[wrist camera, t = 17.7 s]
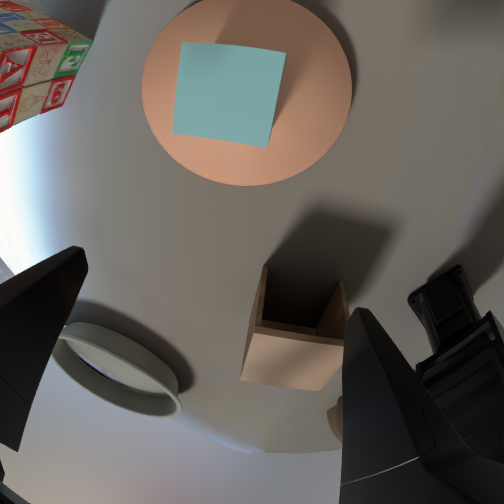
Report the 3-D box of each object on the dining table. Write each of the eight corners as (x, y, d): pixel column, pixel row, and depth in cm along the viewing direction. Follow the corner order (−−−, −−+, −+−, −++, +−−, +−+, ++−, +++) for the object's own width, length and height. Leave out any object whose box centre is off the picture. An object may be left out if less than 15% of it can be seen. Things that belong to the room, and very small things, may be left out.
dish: (387, 100, 15) (393, 102, 14) (246, 212, 21) (243, 220, 20) (243, -36, 10) (240, -42, 9) (117, 100, 16) (108, 102, 15)
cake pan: (41, 289, 32) (25, 311, 28) (197, 352, 34) (189, 382, 30) (73, 366, 46) (65, 383, 43) (182, 409, 48) (177, 428, 45)
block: (286, 59, 13) (286, 52, 9) (272, 127, 16) (267, 148, 12) (211, 49, 13) (182, 42, 9) (202, 116, 16) (172, 133, 12)
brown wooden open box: (343, 281, 24) (354, 347, 18) (317, 331, 28) (319, 390, 23) (263, 265, 24) (253, 332, 18) (249, 319, 28) (239, 379, 22)
